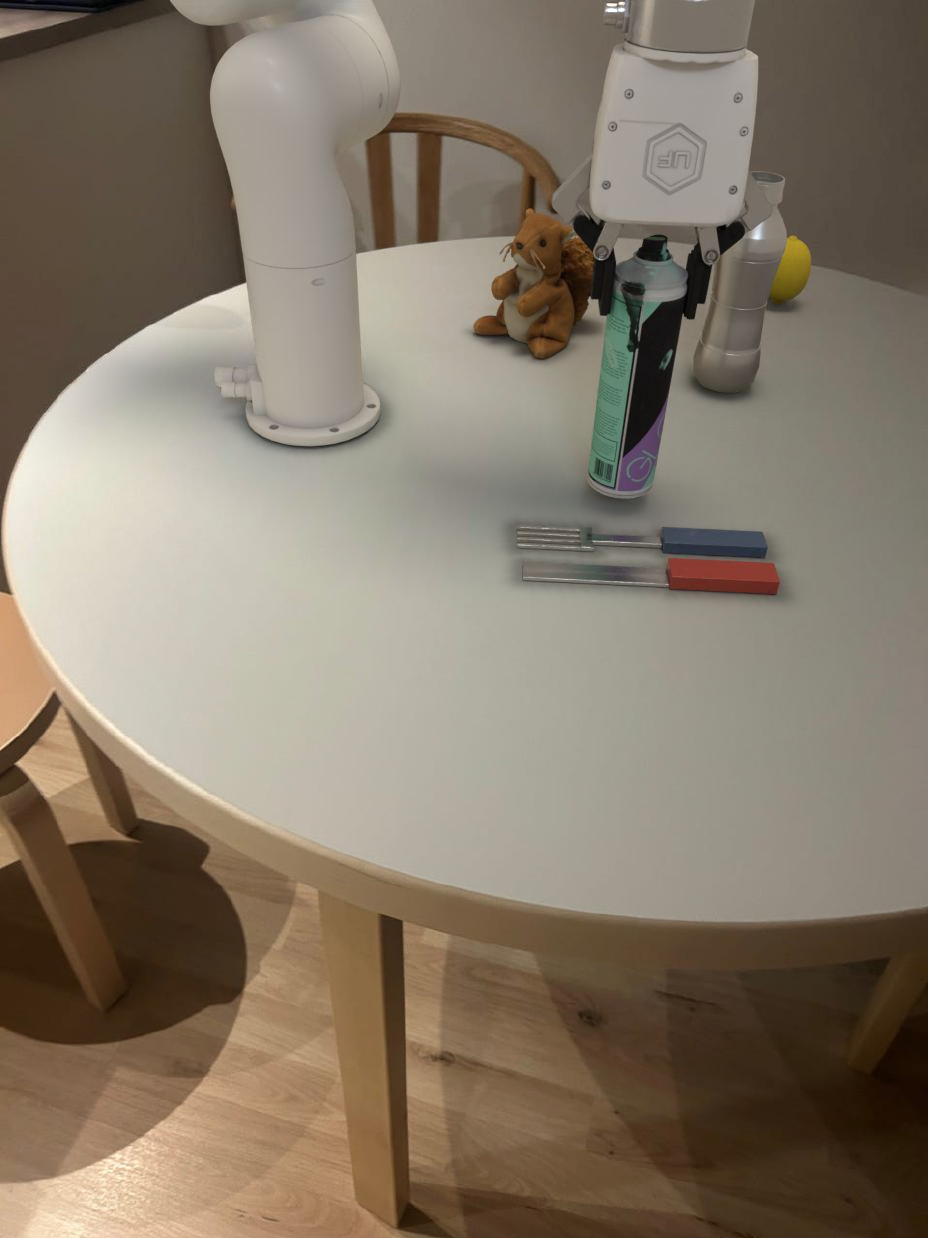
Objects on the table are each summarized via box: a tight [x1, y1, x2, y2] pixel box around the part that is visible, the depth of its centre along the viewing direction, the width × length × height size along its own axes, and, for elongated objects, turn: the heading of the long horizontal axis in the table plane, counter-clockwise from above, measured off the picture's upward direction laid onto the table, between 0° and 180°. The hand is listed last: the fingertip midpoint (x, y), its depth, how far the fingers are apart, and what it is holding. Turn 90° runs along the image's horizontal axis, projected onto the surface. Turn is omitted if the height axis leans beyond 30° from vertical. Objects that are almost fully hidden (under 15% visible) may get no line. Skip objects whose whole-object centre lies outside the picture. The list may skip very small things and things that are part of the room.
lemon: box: [768, 235, 812, 305], centre depth 112 cm, size 6×6×8 cm
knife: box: [522, 557, 781, 595], centre depth 72 cm, size 19×2×1 cm, turn 87°
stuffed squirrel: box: [473, 208, 594, 359], centre depth 102 cm, size 10×14×13 cm
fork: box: [516, 524, 768, 559], centre depth 76 cm, size 20×3×1 cm, turn 87°
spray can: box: [587, 234, 688, 500], centre depth 74 cm, size 6×6×20 cm
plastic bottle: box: [692, 170, 788, 393], centre depth 91 cm, size 6×7×20 cm
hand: (645, 307), depth 70 cm, fingers closed on spray can, 5 cm apart
